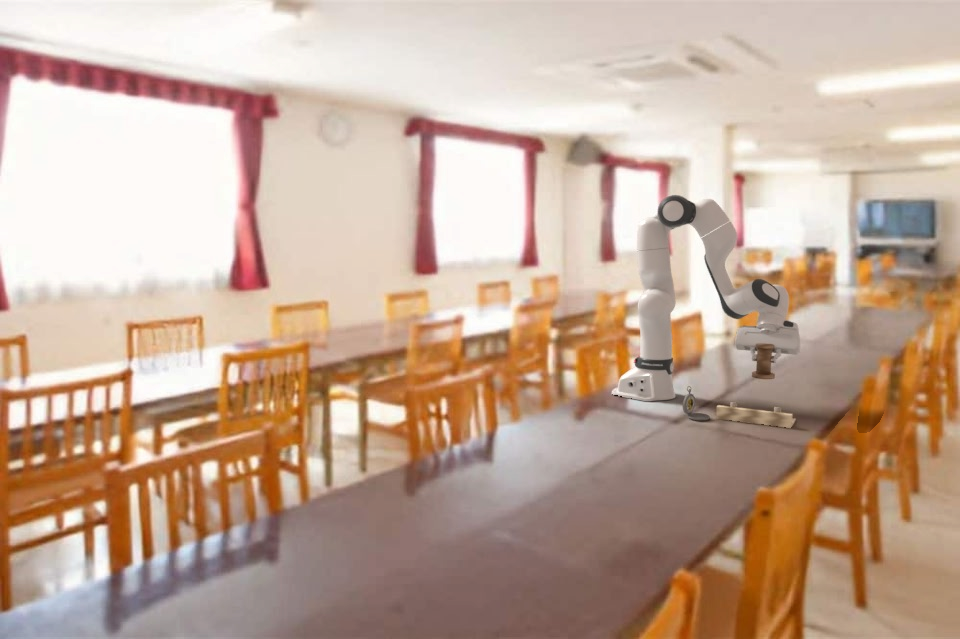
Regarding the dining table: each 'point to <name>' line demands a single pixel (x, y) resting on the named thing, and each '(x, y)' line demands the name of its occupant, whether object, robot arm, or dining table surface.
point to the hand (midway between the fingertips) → (763, 361)
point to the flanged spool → (763, 362)
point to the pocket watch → (692, 408)
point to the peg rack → (755, 415)
